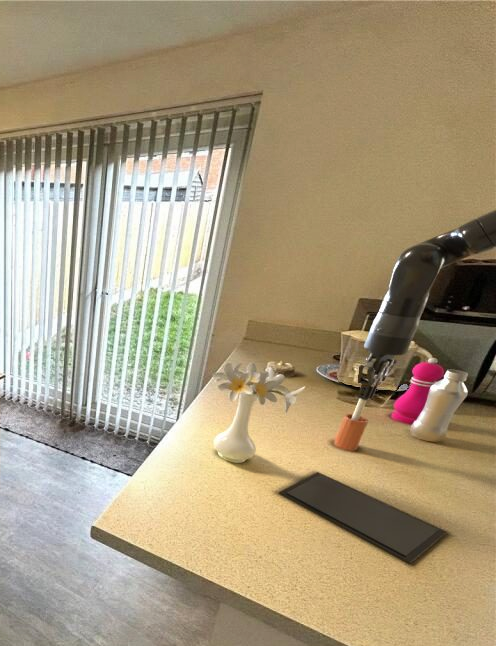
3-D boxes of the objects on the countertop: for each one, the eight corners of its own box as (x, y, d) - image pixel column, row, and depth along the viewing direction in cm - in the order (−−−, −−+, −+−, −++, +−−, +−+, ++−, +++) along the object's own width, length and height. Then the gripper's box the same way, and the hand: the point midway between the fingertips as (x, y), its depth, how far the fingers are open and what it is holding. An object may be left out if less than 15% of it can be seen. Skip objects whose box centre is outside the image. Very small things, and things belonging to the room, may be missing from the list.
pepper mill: (428, 428, 113) (460, 363, 106) (396, 424, 116) (425, 360, 108) (413, 417, 120) (442, 355, 112) (383, 413, 122) (410, 352, 114)
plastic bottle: (419, 431, 112) (451, 366, 104) (448, 443, 106) (484, 375, 98) (400, 433, 111) (431, 368, 103) (429, 446, 105) (464, 377, 97)
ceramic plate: (369, 399, 131) (372, 391, 130) (298, 372, 154) (300, 365, 153) (428, 392, 136) (432, 384, 134) (350, 366, 159) (353, 359, 158)
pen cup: (359, 449, 104) (372, 419, 101) (350, 453, 102) (362, 423, 99) (338, 441, 108) (350, 412, 105) (329, 445, 106) (341, 416, 103)
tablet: (445, 534, 77) (447, 530, 76) (408, 565, 70) (410, 561, 70) (316, 474, 95) (317, 471, 94) (277, 494, 88) (279, 491, 88)
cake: (298, 380, 149) (303, 367, 146) (268, 378, 151) (272, 365, 149) (288, 368, 157) (292, 356, 154) (260, 367, 160) (263, 355, 157)
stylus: (355, 428, 103) (376, 380, 97) (353, 430, 102) (373, 381, 97) (349, 426, 104) (369, 378, 98) (346, 427, 103) (366, 379, 98)
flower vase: (278, 481, 93) (311, 385, 83) (192, 458, 102) (212, 369, 92) (275, 454, 103) (305, 366, 93) (197, 436, 112) (216, 353, 102)
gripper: (399, 340, 87) (369, 409, 94) (425, 331, 92) (396, 398, 99) (357, 332, 93) (332, 397, 100) (384, 324, 98) (359, 387, 105)
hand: (364, 397), depth 99 cm, fingers closed on stylus, 1 cm apart
